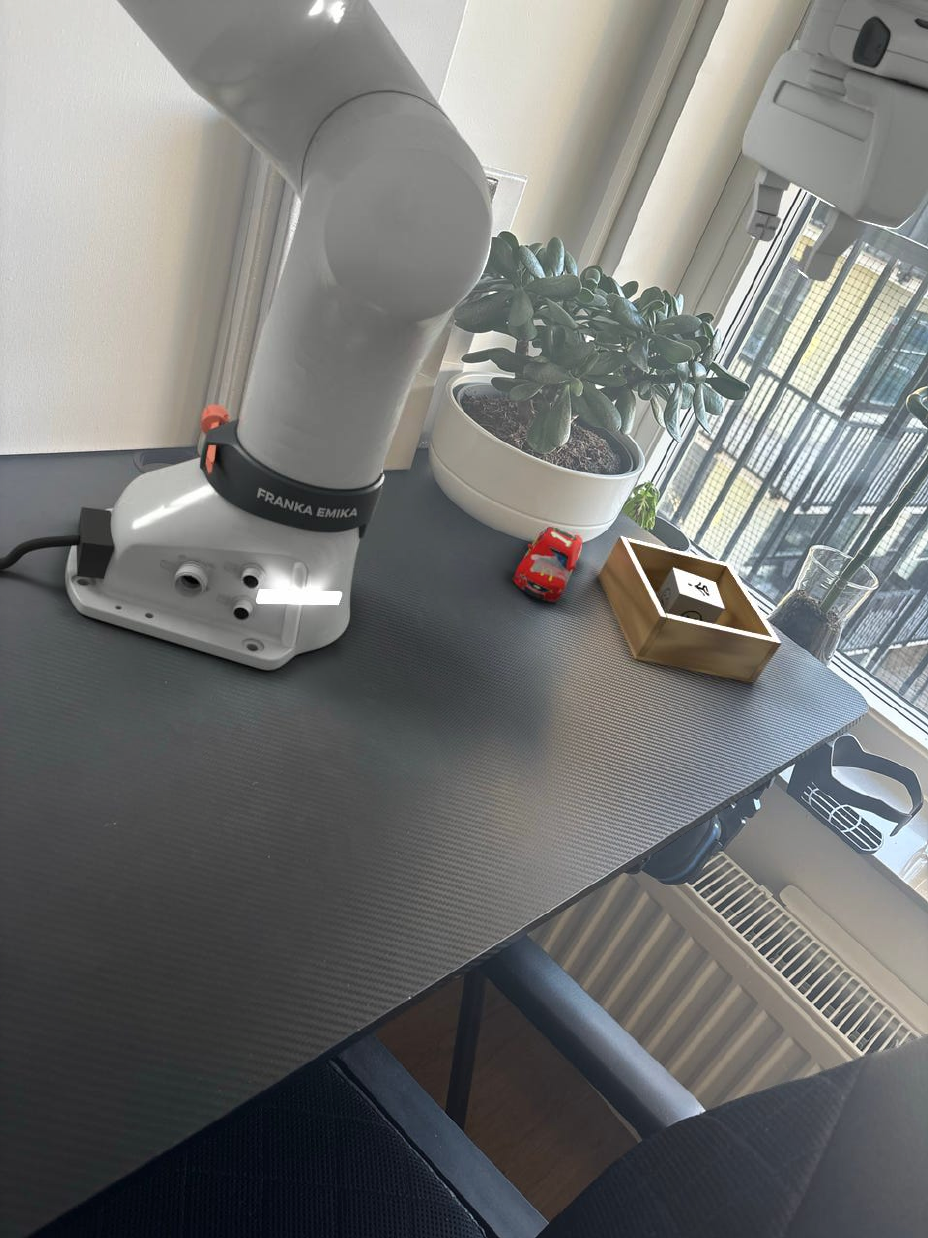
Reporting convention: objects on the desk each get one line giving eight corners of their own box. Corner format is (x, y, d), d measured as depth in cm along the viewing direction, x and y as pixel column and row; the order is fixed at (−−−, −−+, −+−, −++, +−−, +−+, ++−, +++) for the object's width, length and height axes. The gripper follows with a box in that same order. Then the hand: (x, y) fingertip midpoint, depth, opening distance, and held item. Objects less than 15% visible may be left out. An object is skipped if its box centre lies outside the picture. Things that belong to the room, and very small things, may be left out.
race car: (552, 614, 93) (569, 582, 91) (503, 588, 94) (519, 556, 91) (580, 560, 104) (596, 530, 102) (536, 538, 105) (551, 508, 102)
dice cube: (700, 646, 98) (724, 608, 95) (656, 631, 97) (679, 593, 94) (692, 619, 102) (715, 582, 99) (650, 604, 101) (672, 567, 98)
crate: (634, 659, 92) (660, 616, 89) (597, 576, 103) (619, 535, 100) (754, 683, 96) (782, 643, 94) (706, 601, 107) (730, 563, 104)
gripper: (767, 9, 68) (695, 209, 76) (914, 43, 52) (803, 293, 60) (843, 32, 70) (765, 226, 77) (1008, 72, 53) (888, 312, 61)
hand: (782, 256), depth 68 cm, fingers open, 8 cm apart
